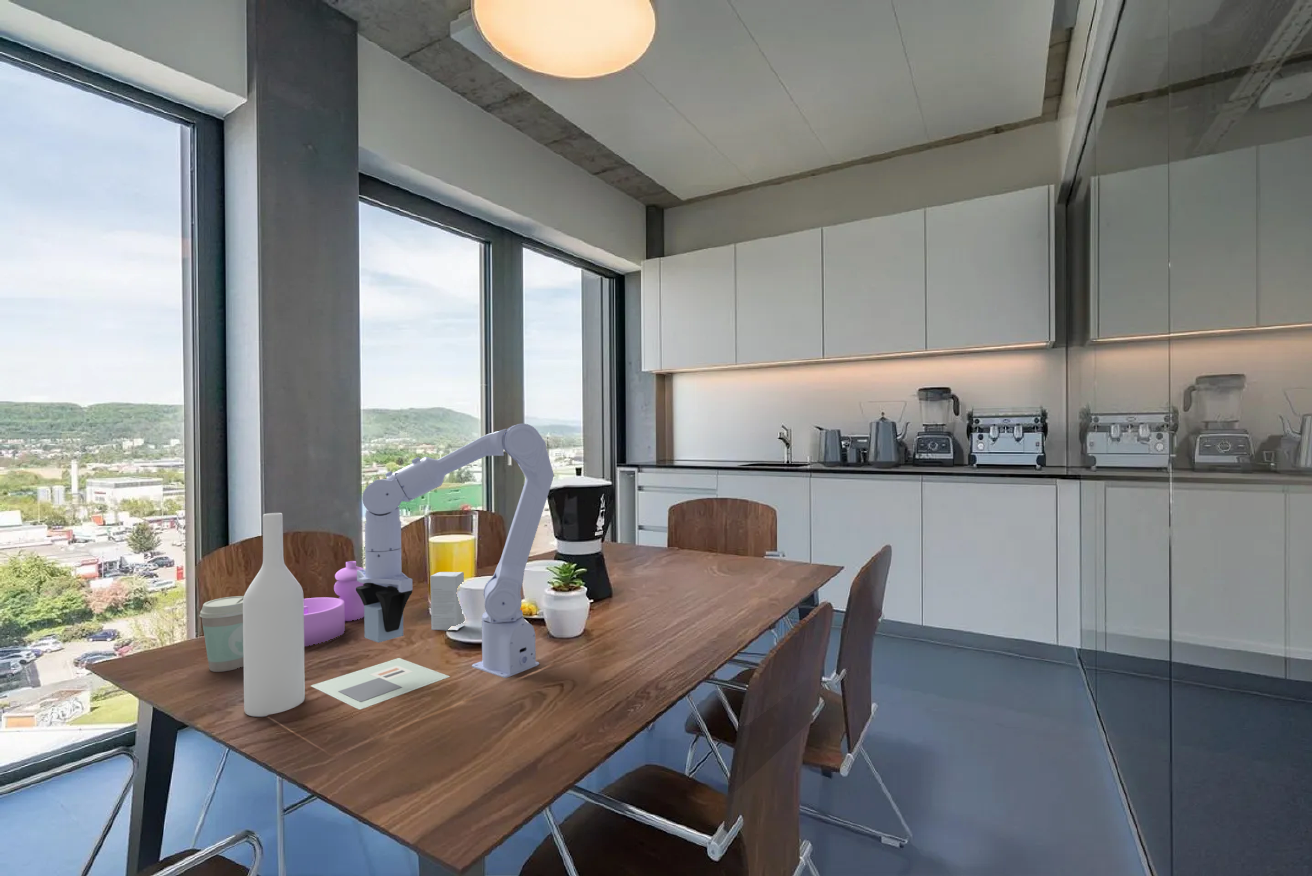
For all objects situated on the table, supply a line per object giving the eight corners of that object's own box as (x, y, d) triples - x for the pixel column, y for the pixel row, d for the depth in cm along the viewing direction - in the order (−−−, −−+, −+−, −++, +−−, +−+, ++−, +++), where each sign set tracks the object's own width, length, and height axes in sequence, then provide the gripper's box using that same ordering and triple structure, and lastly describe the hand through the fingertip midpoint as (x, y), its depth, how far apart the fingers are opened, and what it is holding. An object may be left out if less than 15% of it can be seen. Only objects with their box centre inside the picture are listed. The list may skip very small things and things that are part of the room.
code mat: (450, 678, 107) (450, 676, 107) (359, 711, 94) (359, 709, 94) (398, 659, 117) (398, 657, 117) (310, 687, 104) (310, 685, 104)
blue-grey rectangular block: (403, 635, 107) (403, 603, 107) (378, 642, 104) (378, 609, 104) (389, 631, 110) (389, 600, 110) (364, 637, 107) (364, 605, 107)
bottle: (258, 722, 91) (255, 518, 91) (234, 709, 96) (232, 515, 96) (314, 702, 98) (312, 512, 98) (290, 691, 103) (287, 509, 103)
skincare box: (465, 625, 138) (464, 571, 138) (457, 631, 133) (456, 576, 133) (439, 625, 138) (438, 571, 138) (430, 631, 134) (429, 575, 134)
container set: (304, 651, 122) (303, 584, 122) (243, 645, 126) (242, 581, 126) (390, 616, 147) (389, 560, 147) (336, 612, 150) (335, 557, 150)
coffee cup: (228, 676, 109) (227, 608, 109) (187, 673, 111) (187, 606, 111) (267, 659, 118) (266, 596, 118) (229, 656, 120) (228, 594, 120)
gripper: (339, 548, 108) (340, 626, 108) (383, 557, 99) (384, 642, 99) (378, 542, 114) (379, 616, 114) (423, 550, 105) (424, 630, 105)
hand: (384, 627), depth 107 cm, fingers closed on blue-grey rectangular block, 4 cm apart
